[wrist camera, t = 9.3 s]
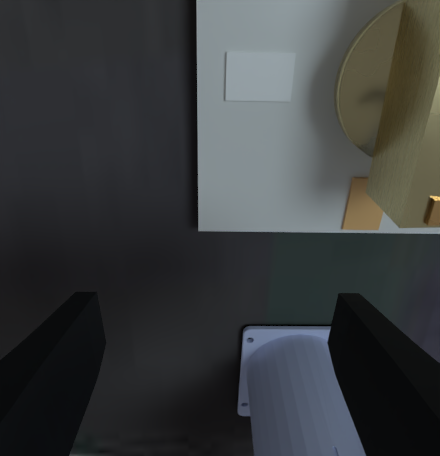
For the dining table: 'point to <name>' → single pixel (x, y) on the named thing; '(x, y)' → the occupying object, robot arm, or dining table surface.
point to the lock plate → (280, 119)
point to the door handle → (396, 109)
